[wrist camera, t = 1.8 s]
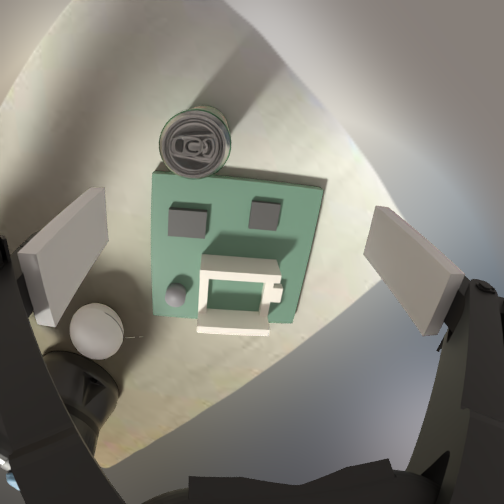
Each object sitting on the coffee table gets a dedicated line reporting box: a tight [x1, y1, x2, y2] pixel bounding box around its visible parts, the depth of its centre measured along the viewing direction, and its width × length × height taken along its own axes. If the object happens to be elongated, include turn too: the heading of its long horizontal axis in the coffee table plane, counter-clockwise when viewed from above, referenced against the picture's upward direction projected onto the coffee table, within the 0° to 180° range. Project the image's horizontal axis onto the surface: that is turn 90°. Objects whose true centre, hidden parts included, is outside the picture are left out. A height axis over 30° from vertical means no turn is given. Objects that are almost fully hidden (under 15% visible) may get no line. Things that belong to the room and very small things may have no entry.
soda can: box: [159, 106, 231, 180], centre depth 26 cm, size 5×5×12 cm
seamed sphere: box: [70, 303, 143, 360], centre depth 37 cm, size 10×7×7 cm
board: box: [151, 171, 324, 336], centre depth 36 cm, size 18×18×5 cm
